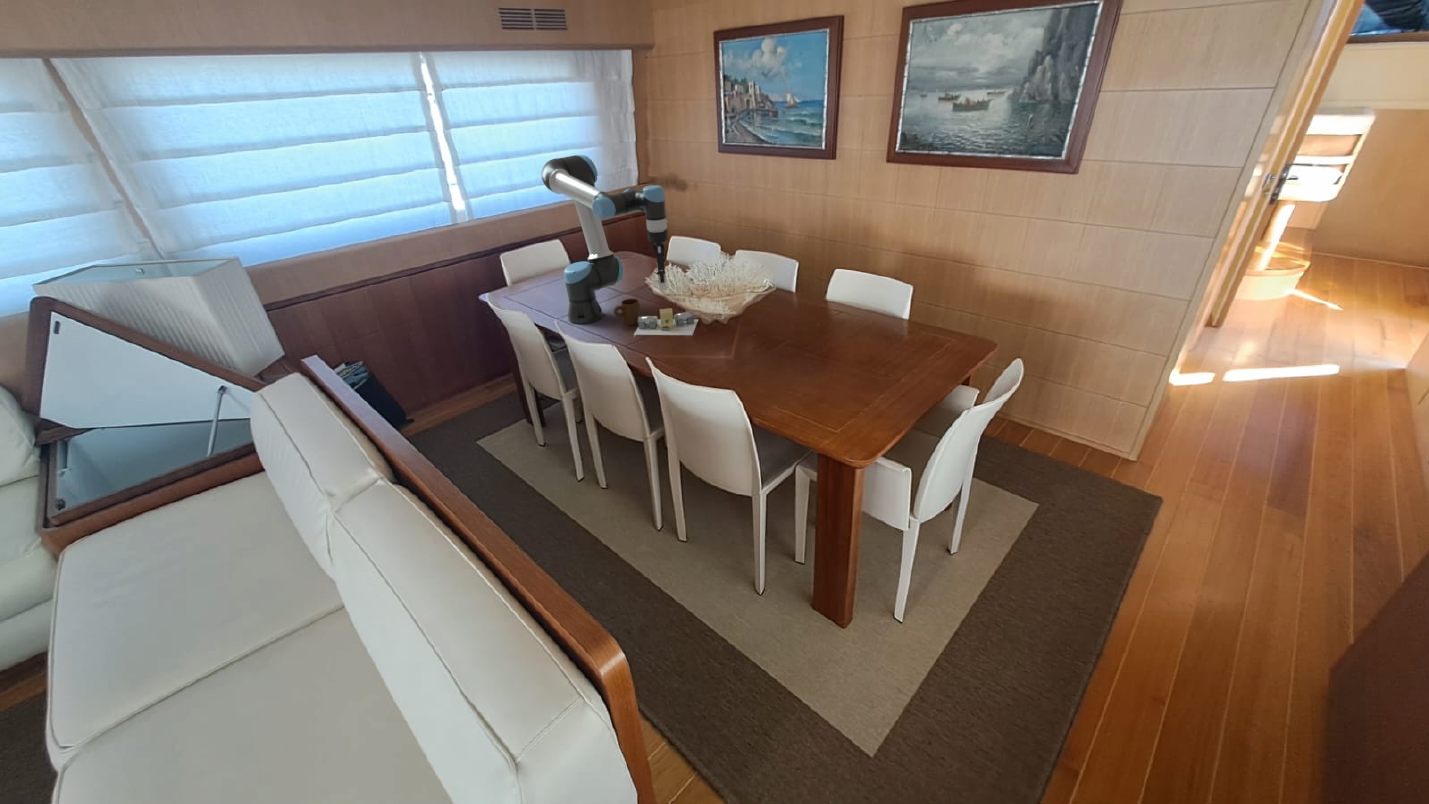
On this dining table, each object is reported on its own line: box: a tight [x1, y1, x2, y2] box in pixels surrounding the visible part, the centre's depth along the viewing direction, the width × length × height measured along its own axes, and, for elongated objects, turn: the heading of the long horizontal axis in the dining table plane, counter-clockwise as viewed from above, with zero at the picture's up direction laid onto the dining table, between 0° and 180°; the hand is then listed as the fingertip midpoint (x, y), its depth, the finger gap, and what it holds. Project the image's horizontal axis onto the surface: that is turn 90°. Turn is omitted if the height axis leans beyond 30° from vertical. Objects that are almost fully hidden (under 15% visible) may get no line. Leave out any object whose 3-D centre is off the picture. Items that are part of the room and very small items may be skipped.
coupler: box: [659, 307, 674, 329], centre depth 222 cm, size 5×5×7 cm
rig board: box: [633, 318, 699, 338], centre depth 224 cm, size 24×16×2 cm, turn 82°
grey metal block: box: [673, 310, 695, 327], centre depth 225 cm, size 8×5×5 cm, turn 112°
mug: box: [613, 298, 642, 326], centre depth 229 cm, size 12×8×9 cm, turn 131°
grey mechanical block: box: [637, 315, 658, 329], centre depth 224 cm, size 8×5×5 cm, turn 82°
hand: (662, 284), depth 215 cm, fingers open, 13 cm apart
